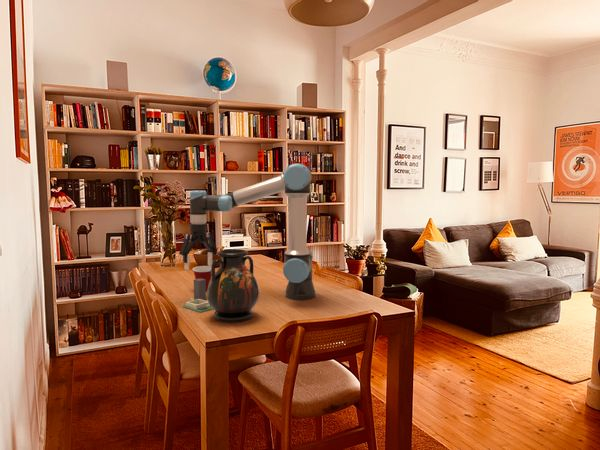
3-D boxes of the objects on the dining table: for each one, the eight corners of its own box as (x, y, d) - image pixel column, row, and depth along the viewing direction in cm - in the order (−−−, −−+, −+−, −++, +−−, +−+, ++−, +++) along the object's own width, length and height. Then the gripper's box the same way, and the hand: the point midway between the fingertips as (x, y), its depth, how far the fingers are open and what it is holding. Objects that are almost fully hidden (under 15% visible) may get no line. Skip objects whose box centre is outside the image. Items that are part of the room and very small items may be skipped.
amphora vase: (221, 329, 172) (220, 257, 169) (199, 315, 189) (197, 250, 187) (269, 319, 185) (268, 252, 182) (243, 307, 202) (243, 246, 199)
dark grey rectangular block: (206, 299, 214) (205, 279, 214) (199, 301, 211) (198, 280, 210) (199, 298, 218) (199, 278, 217) (193, 299, 215) (192, 279, 214)
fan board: (216, 308, 201) (216, 301, 200) (200, 312, 194) (200, 305, 193) (198, 303, 209) (198, 296, 209) (182, 307, 202) (182, 300, 202)
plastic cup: (193, 293, 226) (193, 270, 225) (192, 288, 237) (191, 266, 236) (215, 292, 230) (214, 269, 228) (213, 287, 240) (212, 265, 239)
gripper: (214, 221, 223) (214, 263, 225) (170, 224, 204) (171, 270, 206) (223, 222, 218) (224, 265, 220) (180, 225, 199) (181, 272, 201)
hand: (198, 267), depth 213 cm, fingers open, 13 cm apart
